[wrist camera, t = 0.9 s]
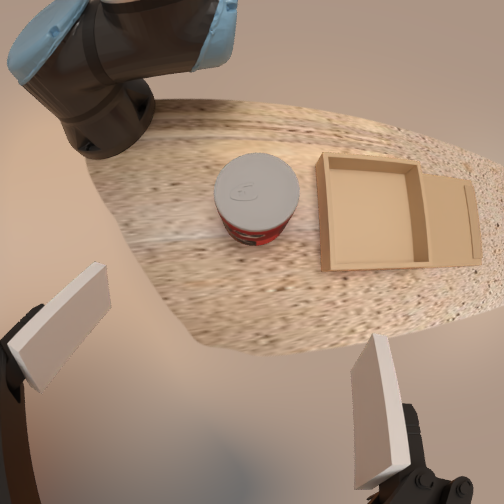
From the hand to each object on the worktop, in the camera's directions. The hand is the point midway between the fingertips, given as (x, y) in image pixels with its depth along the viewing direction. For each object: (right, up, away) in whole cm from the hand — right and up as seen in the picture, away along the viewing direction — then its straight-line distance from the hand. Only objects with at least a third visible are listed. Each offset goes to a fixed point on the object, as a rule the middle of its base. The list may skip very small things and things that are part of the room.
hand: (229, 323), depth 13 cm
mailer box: (+24, +8, +24) cm, 35 cm away
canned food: (+1, +8, +24) cm, 25 cm away
